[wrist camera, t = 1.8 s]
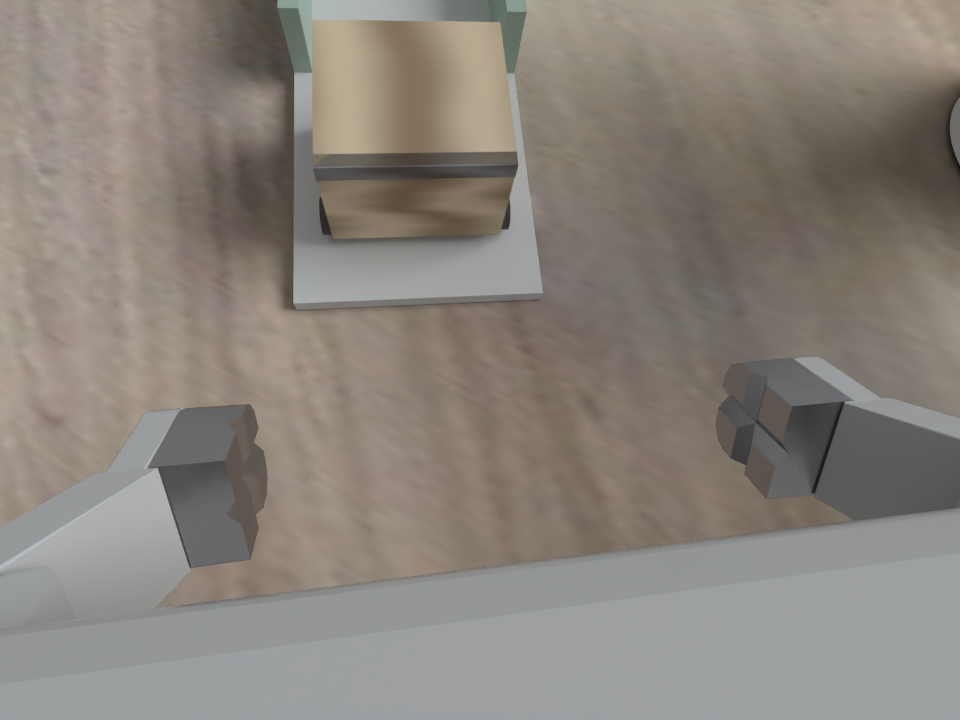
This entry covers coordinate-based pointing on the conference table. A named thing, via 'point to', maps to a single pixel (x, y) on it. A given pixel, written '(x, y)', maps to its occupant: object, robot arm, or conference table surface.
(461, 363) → the conference table surface
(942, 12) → the conference table surface
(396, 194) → the wooden cart
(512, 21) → the dock
